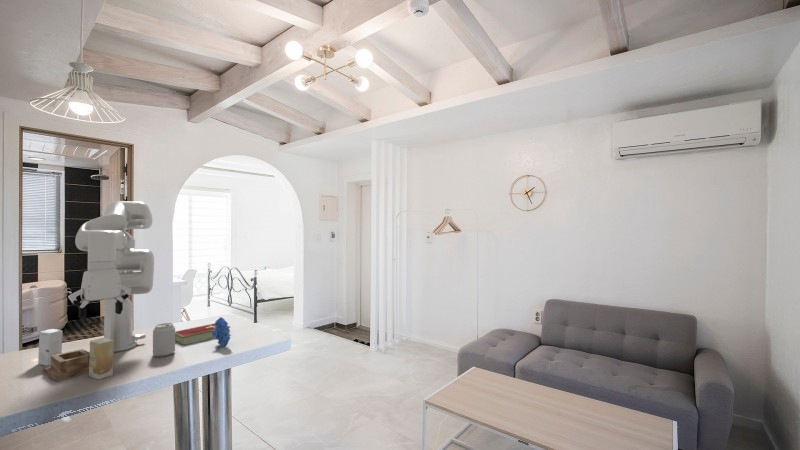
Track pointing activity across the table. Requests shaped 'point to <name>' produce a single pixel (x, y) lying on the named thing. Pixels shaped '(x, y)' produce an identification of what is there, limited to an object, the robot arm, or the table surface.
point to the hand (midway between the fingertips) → (101, 316)
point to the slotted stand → (68, 365)
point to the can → (163, 339)
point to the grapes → (221, 332)
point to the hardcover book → (195, 334)
